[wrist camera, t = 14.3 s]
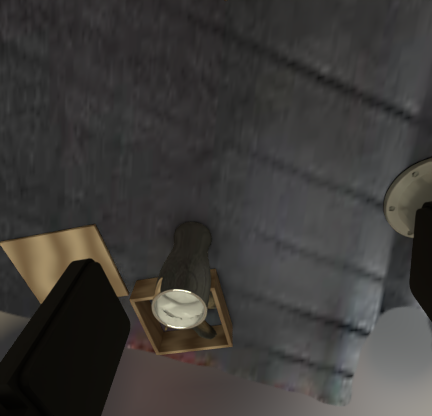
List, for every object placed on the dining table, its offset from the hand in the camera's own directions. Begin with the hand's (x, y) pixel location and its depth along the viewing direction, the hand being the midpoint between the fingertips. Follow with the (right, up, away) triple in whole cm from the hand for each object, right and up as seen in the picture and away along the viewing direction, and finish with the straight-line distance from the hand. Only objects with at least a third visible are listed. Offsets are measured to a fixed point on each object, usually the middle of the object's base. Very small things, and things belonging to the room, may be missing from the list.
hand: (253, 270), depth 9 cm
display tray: (-6, -16, +47) cm, 50 cm away
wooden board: (-27, -9, +44) cm, 52 cm away
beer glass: (-5, -3, +40) cm, 41 cm away
